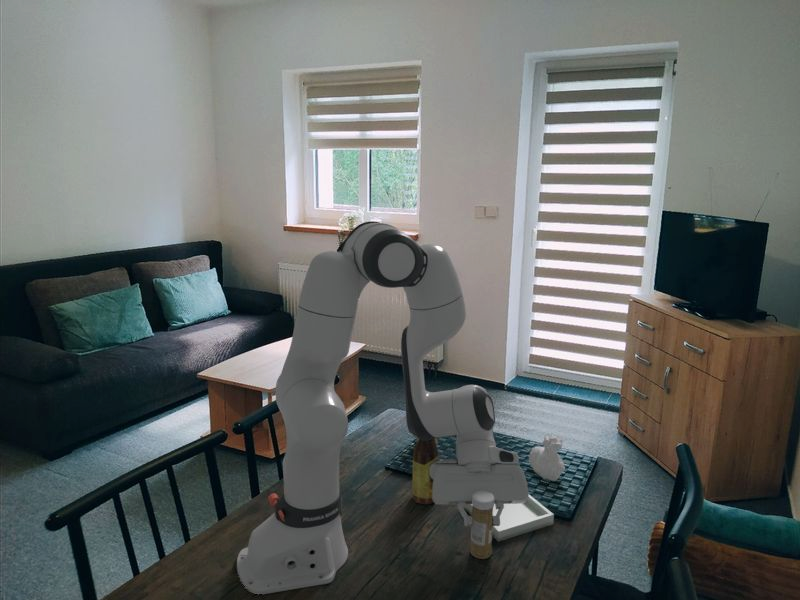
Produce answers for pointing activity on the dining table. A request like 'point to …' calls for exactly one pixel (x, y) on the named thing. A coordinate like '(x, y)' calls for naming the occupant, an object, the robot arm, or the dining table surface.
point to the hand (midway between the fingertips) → (482, 525)
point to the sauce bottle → (423, 470)
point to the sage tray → (519, 518)
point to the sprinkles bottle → (482, 524)
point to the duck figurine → (547, 458)
